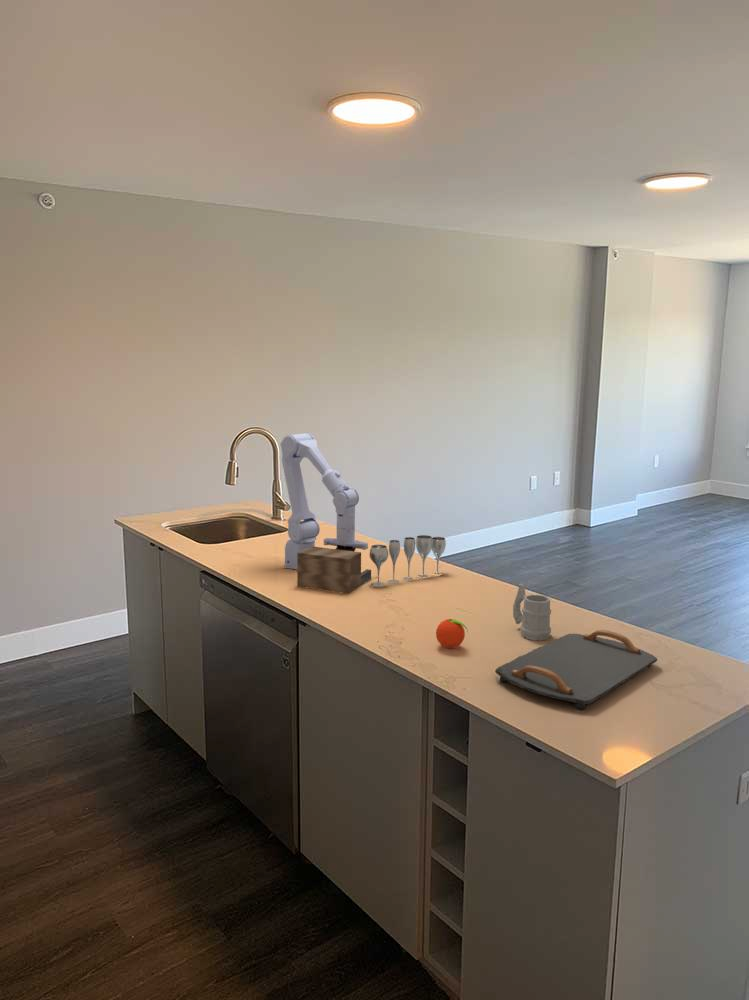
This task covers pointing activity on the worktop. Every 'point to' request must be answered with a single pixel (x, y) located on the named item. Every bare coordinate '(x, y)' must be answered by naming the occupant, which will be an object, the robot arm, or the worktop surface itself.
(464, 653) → the worktop surface
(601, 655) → the serving board
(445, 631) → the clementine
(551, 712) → the worktop surface
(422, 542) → the goblet set
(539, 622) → the mug
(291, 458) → the robot arm
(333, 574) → the walnut shelf
